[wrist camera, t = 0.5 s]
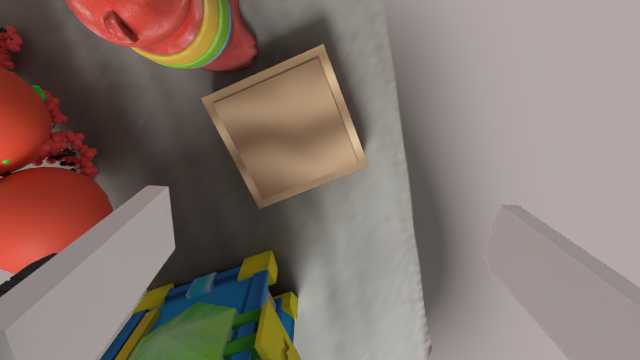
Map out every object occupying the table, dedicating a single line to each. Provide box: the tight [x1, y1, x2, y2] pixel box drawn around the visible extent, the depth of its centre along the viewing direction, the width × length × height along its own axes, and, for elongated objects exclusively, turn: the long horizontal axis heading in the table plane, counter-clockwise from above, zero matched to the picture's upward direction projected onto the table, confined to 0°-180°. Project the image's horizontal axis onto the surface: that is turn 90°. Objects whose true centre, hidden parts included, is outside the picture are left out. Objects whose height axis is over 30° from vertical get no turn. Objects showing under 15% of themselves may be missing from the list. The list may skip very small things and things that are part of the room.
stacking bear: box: [66, 0, 258, 72], centre depth 25 cm, size 11×10×18 cm
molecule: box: [0, 26, 113, 274], centre depth 30 cm, size 25×11×15 cm, turn 25°
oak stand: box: [201, 44, 368, 209], centre depth 35 cm, size 14×14×4 cm
